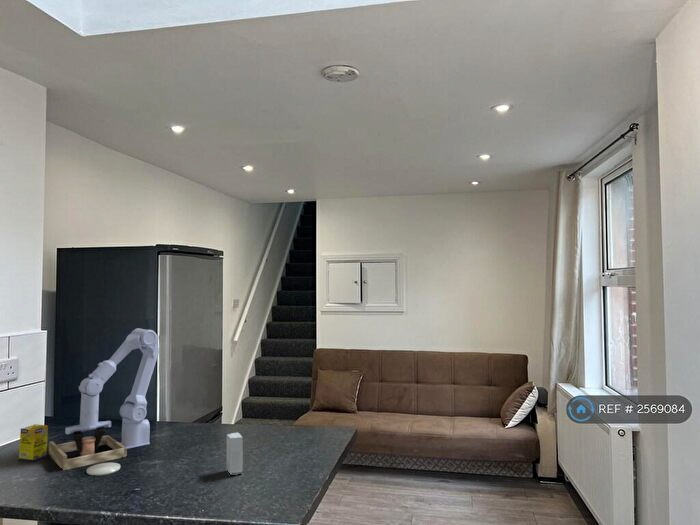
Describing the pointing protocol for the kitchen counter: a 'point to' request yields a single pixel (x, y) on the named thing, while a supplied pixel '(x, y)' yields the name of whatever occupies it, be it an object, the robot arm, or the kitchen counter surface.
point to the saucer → (103, 469)
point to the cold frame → (64, 463)
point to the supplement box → (33, 442)
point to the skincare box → (234, 453)
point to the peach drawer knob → (88, 446)
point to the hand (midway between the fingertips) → (87, 450)
